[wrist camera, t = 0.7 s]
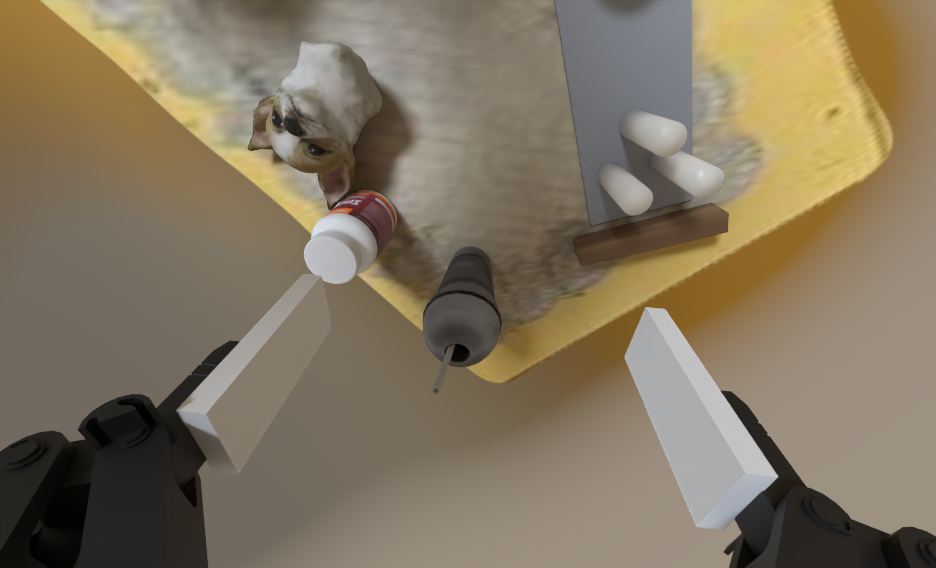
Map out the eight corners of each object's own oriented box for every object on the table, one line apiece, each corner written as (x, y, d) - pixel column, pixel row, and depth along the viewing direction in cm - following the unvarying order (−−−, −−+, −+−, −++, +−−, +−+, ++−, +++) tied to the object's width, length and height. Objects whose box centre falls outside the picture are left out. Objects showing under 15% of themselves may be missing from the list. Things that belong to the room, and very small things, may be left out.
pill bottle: (370, 176, 37) (325, 212, 28) (409, 220, 39) (380, 268, 30) (333, 210, 39) (280, 254, 30) (372, 249, 42) (335, 302, 32)
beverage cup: (479, 298, 44) (465, 442, 27) (429, 269, 42) (382, 403, 25) (514, 257, 40) (523, 392, 24) (461, 223, 39) (431, 343, 22)
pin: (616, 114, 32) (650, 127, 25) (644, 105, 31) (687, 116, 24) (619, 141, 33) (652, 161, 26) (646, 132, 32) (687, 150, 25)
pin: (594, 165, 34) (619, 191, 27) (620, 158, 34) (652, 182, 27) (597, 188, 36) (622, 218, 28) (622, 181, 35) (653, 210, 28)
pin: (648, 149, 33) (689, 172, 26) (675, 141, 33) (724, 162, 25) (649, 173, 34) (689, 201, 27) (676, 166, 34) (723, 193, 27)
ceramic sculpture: (393, 104, 25) (308, 238, 32) (422, 92, 32) (346, 204, 40) (257, -20, 22) (197, 159, 29) (321, -3, 29) (260, 138, 37)
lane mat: (536, -116, 25) (536, -118, 25) (689, -193, 22) (690, -194, 22) (590, 225, 38) (590, 225, 37) (690, 199, 35) (691, 199, 35)
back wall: (573, 238, 39) (578, 249, 36) (712, 202, 35) (728, 213, 33) (576, 253, 40) (581, 266, 37) (711, 220, 36) (727, 231, 34)
